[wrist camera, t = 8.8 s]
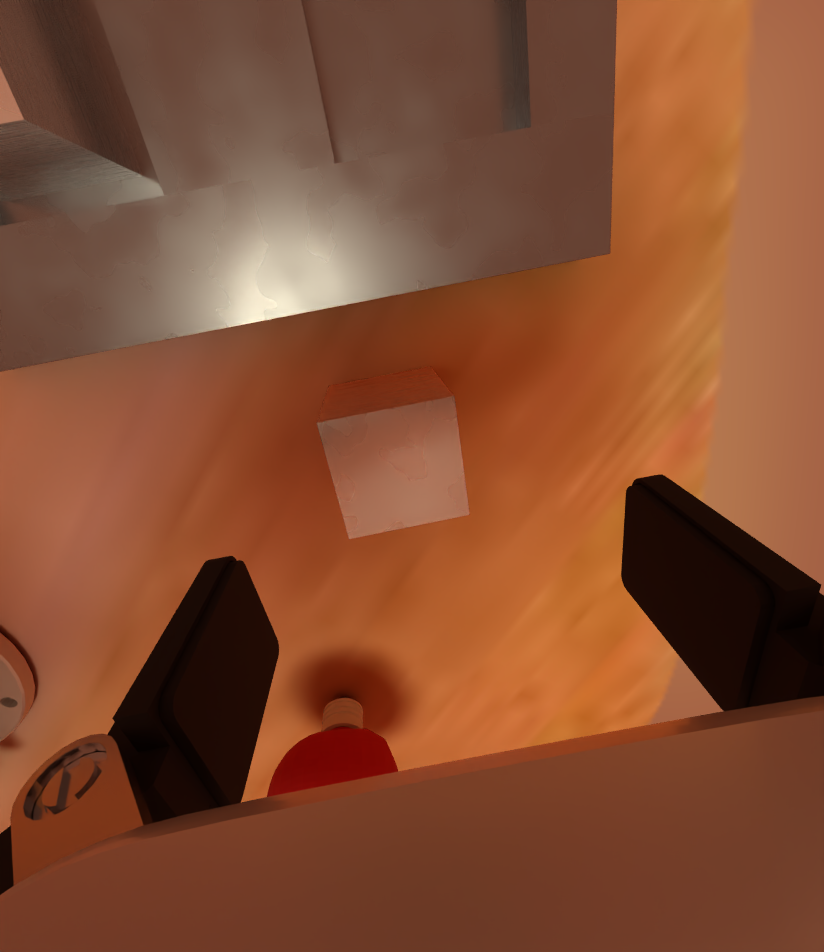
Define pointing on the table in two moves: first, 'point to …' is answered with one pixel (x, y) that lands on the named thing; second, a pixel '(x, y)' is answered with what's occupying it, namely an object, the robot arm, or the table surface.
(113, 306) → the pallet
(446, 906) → the robot arm
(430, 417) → the block
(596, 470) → the table surface
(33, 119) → the seated billet
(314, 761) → the light bulb
